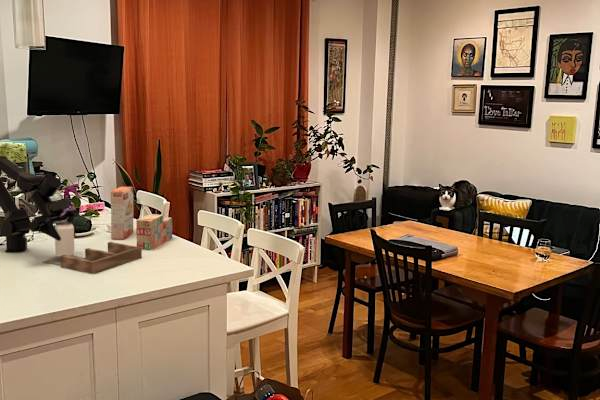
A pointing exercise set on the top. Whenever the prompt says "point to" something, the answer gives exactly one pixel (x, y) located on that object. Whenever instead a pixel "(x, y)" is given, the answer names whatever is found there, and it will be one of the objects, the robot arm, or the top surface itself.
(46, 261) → the mat
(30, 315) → the top surface
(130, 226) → the cracker box
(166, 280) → the top surface
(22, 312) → the top surface
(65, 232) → the can
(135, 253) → the shelf lanes
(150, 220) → the stack of blocks
